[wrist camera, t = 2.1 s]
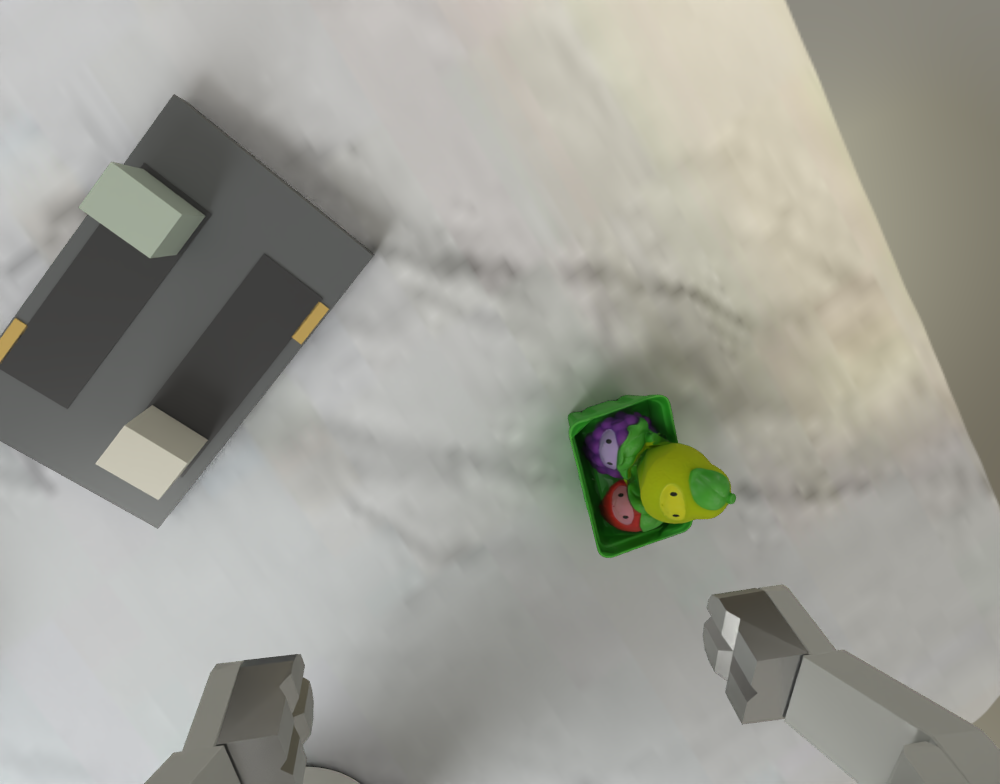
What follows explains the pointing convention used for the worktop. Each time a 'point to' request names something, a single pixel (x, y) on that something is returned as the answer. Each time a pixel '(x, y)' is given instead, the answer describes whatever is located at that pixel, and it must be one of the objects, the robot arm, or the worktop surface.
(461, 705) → the worktop surface
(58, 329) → the switch panel
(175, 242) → the sage tab
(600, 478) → the fruit basket
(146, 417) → the cream tab
